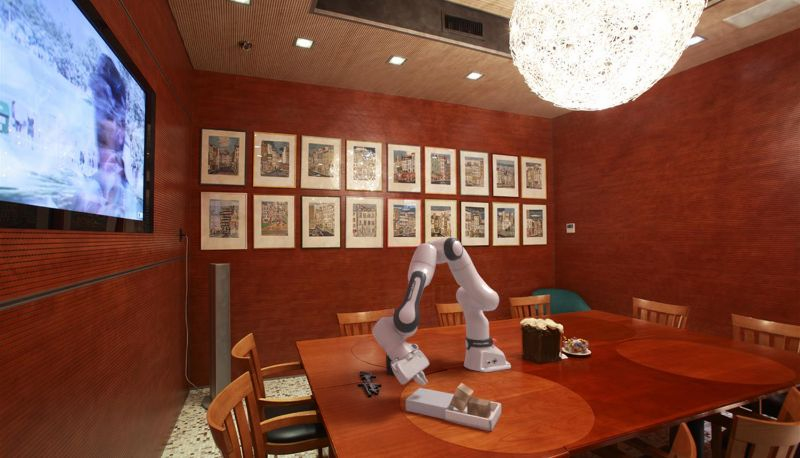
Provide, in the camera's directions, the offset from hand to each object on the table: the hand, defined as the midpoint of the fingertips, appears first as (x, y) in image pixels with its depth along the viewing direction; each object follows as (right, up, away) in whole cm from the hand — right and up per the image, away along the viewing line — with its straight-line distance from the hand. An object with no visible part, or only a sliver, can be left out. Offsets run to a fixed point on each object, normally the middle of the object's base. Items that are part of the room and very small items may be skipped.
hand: (425, 384), depth 140 cm
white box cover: (+3, -8, -1) cm, 9 cm away
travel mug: (-12, -10, +37) cm, 40 cm away
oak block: (+11, -5, -6) cm, 14 cm away
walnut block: (+15, -4, -8) cm, 18 cm away
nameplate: (-23, -10, +23) cm, 34 cm away
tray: (+17, -8, -9) cm, 20 cm away
